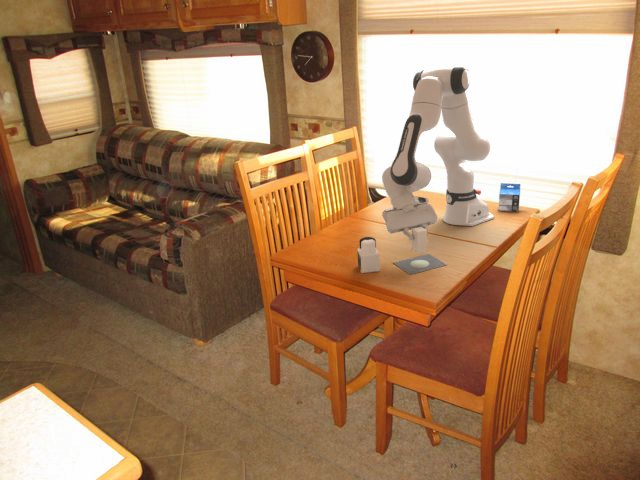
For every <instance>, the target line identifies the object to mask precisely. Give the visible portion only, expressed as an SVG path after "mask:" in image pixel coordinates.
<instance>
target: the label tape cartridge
mask: <svg viewBox="0 0 640 480" xmlns="http://www.w3.org/2000/svg"><path fill="white" fill-rule="evenodd" d="M520 197H521V183H503V182H501V183H500V188H499V195H498V209H497V210H498V212H515V213H519V210H520Z"/></svg>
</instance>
